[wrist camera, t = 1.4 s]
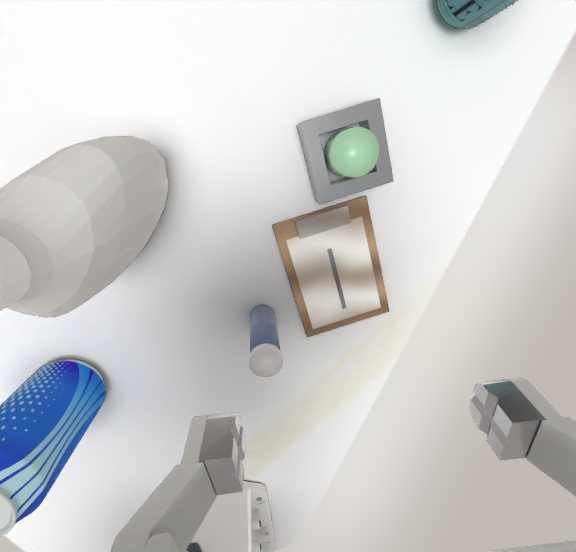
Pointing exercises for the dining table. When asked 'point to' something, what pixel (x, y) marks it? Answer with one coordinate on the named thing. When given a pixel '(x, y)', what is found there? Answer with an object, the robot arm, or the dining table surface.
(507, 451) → the robot arm
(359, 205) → the clipboard
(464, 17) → the beverage bottle
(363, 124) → the button housing
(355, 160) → the button
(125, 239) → the soap bottle
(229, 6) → the dining table surface
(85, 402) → the beer can
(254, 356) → the marker
